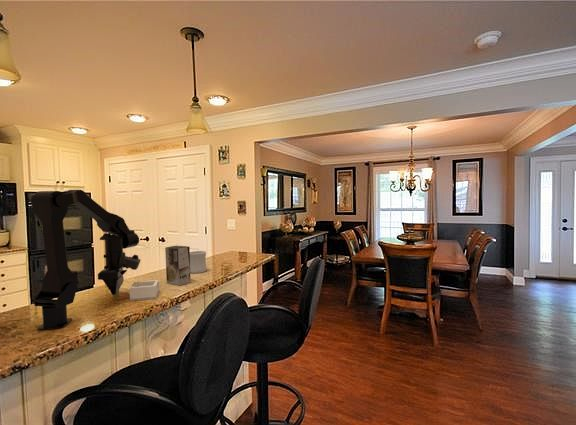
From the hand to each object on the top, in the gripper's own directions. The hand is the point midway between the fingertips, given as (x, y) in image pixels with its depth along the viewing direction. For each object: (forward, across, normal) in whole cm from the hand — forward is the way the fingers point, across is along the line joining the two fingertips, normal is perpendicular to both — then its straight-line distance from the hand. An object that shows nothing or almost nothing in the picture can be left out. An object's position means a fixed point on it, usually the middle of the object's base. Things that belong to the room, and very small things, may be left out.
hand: (115, 292), depth 112 cm
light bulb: (+3, 0, 0) cm, 3 cm away
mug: (+3, +34, -27) cm, 44 cm away
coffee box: (+3, +16, -21) cm, 27 cm away
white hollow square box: (+2, 0, -10) cm, 10 cm away
